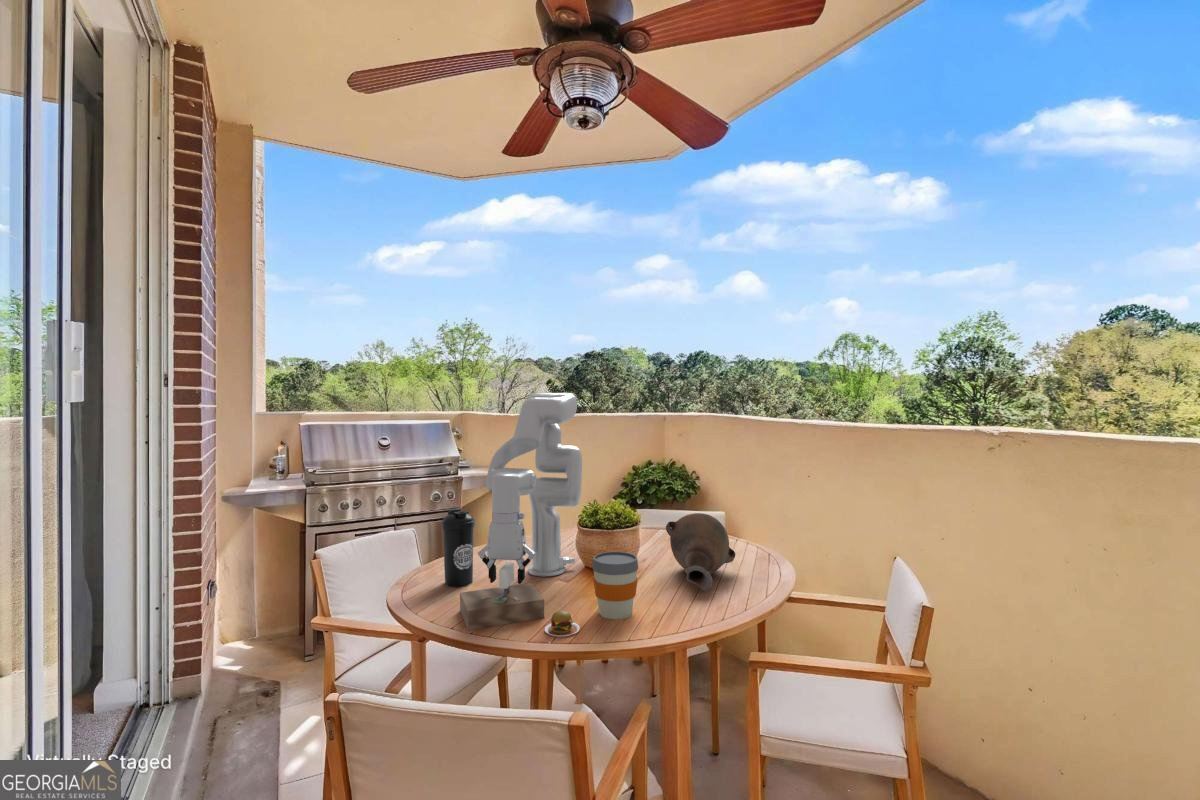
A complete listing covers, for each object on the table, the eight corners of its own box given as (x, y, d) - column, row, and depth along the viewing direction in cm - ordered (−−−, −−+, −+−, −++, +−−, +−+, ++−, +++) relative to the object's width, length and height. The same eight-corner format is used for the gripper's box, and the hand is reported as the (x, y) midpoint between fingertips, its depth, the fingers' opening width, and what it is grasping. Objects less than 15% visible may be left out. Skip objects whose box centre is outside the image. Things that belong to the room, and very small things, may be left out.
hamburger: (595, 629, 144) (595, 608, 144) (566, 647, 134) (566, 624, 134) (558, 619, 151) (558, 599, 150) (528, 635, 141) (528, 613, 141)
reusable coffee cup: (611, 600, 162) (611, 548, 162) (647, 611, 154) (647, 556, 154) (583, 614, 152) (582, 558, 152) (620, 625, 144) (619, 567, 144)
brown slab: (530, 600, 163) (530, 582, 163) (544, 617, 150) (544, 598, 150) (460, 610, 155) (459, 591, 155) (468, 630, 142) (467, 609, 142)
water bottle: (450, 590, 172) (450, 515, 171) (437, 582, 179) (436, 510, 179) (480, 583, 178) (480, 510, 178) (466, 575, 186) (465, 505, 186)
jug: (680, 560, 200) (669, 605, 172) (668, 509, 198) (654, 545, 169) (738, 553, 194) (736, 598, 166) (725, 500, 192) (721, 536, 163)
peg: (506, 587, 159) (506, 562, 159) (514, 587, 158) (513, 562, 158) (495, 600, 149) (495, 573, 149) (504, 600, 148) (503, 573, 148)
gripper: (540, 515, 157) (540, 578, 158) (480, 514, 160) (481, 576, 160) (533, 521, 150) (534, 587, 150) (470, 519, 152) (471, 585, 153)
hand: (506, 581), depth 155 cm, fingers open, 7 cm apart
